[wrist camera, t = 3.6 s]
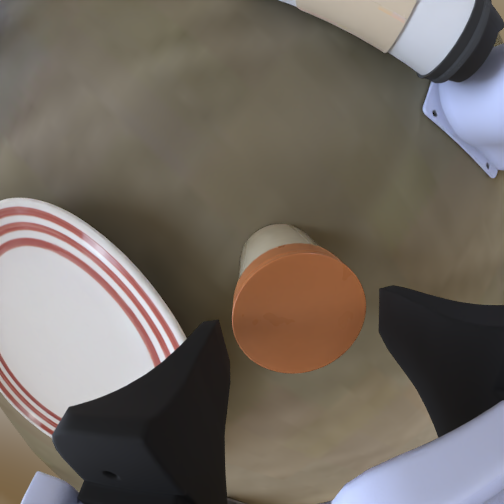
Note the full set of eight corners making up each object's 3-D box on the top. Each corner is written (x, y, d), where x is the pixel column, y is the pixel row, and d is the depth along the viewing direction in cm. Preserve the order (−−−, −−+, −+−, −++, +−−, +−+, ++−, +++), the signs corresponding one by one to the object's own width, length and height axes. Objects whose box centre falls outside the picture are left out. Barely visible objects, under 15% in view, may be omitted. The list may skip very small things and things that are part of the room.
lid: (375, 274, 13) (390, 287, 11) (316, 366, 14) (323, 386, 12) (267, 220, 12) (271, 227, 10) (214, 329, 13) (210, 348, 12)
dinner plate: (92, 459, 25) (84, 476, 22) (-46, 294, 19) (-63, 304, 16) (275, 398, 22) (278, 426, 19) (68, 117, 16) (42, 111, 12)
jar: (331, 244, 19) (378, 285, 12) (295, 309, 20) (319, 376, 13) (261, 210, 18) (272, 233, 11) (226, 281, 19) (218, 341, 12)
